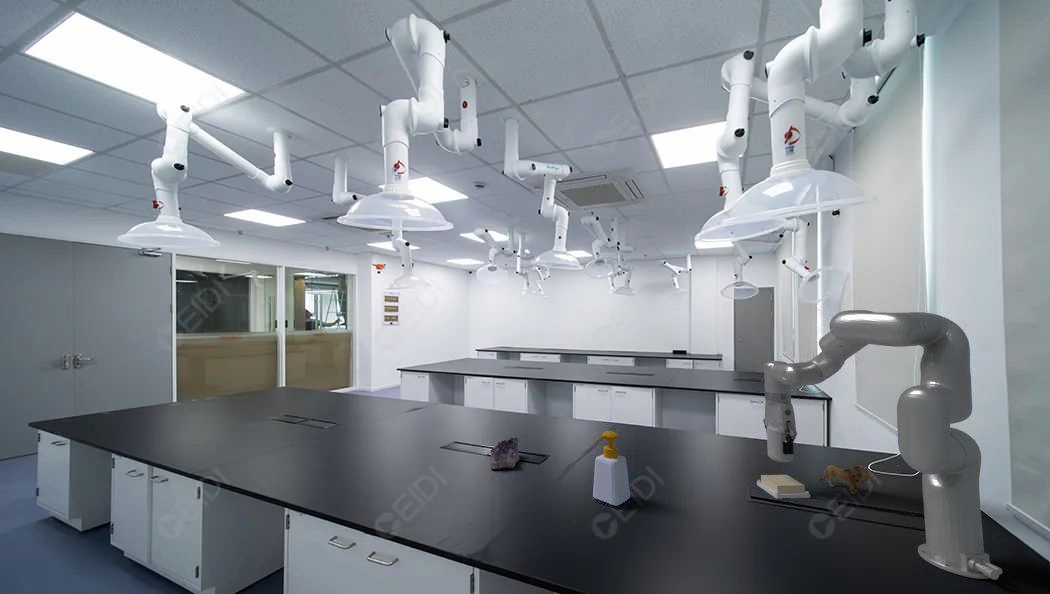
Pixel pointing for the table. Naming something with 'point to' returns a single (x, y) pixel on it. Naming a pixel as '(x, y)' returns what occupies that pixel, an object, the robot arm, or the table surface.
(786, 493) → the tower base
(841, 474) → the lion figurine
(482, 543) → the table surface
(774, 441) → the can
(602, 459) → the soap bottle
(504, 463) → the geode
